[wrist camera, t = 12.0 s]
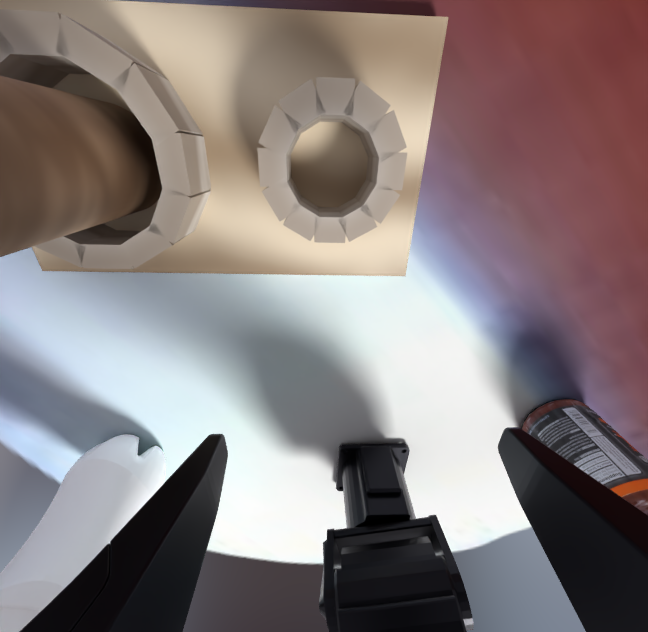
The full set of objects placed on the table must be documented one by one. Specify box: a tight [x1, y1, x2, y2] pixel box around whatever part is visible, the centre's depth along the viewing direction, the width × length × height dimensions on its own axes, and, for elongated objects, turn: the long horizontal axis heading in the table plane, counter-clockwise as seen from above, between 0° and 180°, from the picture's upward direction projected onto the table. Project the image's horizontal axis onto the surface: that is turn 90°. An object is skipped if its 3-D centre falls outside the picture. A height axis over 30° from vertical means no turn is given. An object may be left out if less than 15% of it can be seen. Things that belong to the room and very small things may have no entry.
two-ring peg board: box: [0, 0, 448, 276], centre depth 15 cm, size 12×22×4 cm, turn 88°
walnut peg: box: [0, 76, 162, 257], centre depth 11 cm, size 5×5×10 cm
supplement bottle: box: [522, 399, 648, 515], centre depth 22 cm, size 6×6×11 cm
